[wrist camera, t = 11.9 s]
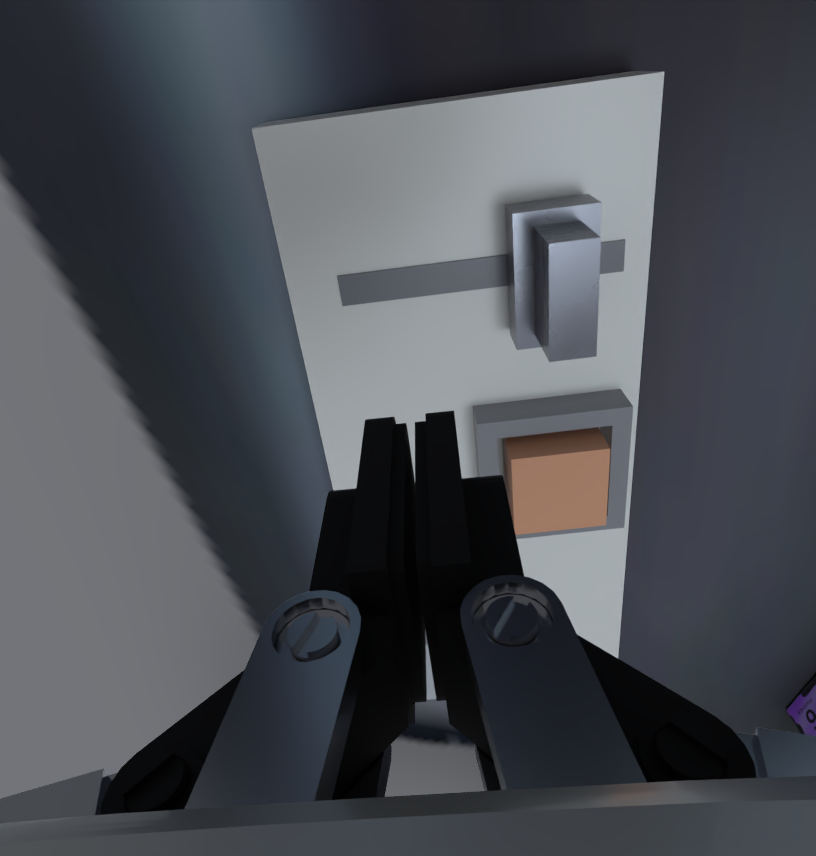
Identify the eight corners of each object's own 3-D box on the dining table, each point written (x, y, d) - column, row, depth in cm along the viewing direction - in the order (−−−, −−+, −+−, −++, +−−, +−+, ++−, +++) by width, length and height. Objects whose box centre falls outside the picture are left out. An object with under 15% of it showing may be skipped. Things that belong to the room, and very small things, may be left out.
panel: (633, 71, 23) (684, 71, 19) (602, 625, 38) (626, 689, 34) (267, 121, 24) (241, 132, 20) (379, 647, 39) (377, 713, 35)
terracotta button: (593, 419, 27) (610, 448, 25) (590, 492, 29) (606, 525, 27) (502, 429, 27) (511, 459, 25) (505, 501, 29) (514, 535, 27)
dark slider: (588, 193, 22) (625, 217, 19) (585, 324, 25) (616, 367, 21) (504, 204, 22) (525, 230, 19) (510, 333, 25) (528, 377, 21)
